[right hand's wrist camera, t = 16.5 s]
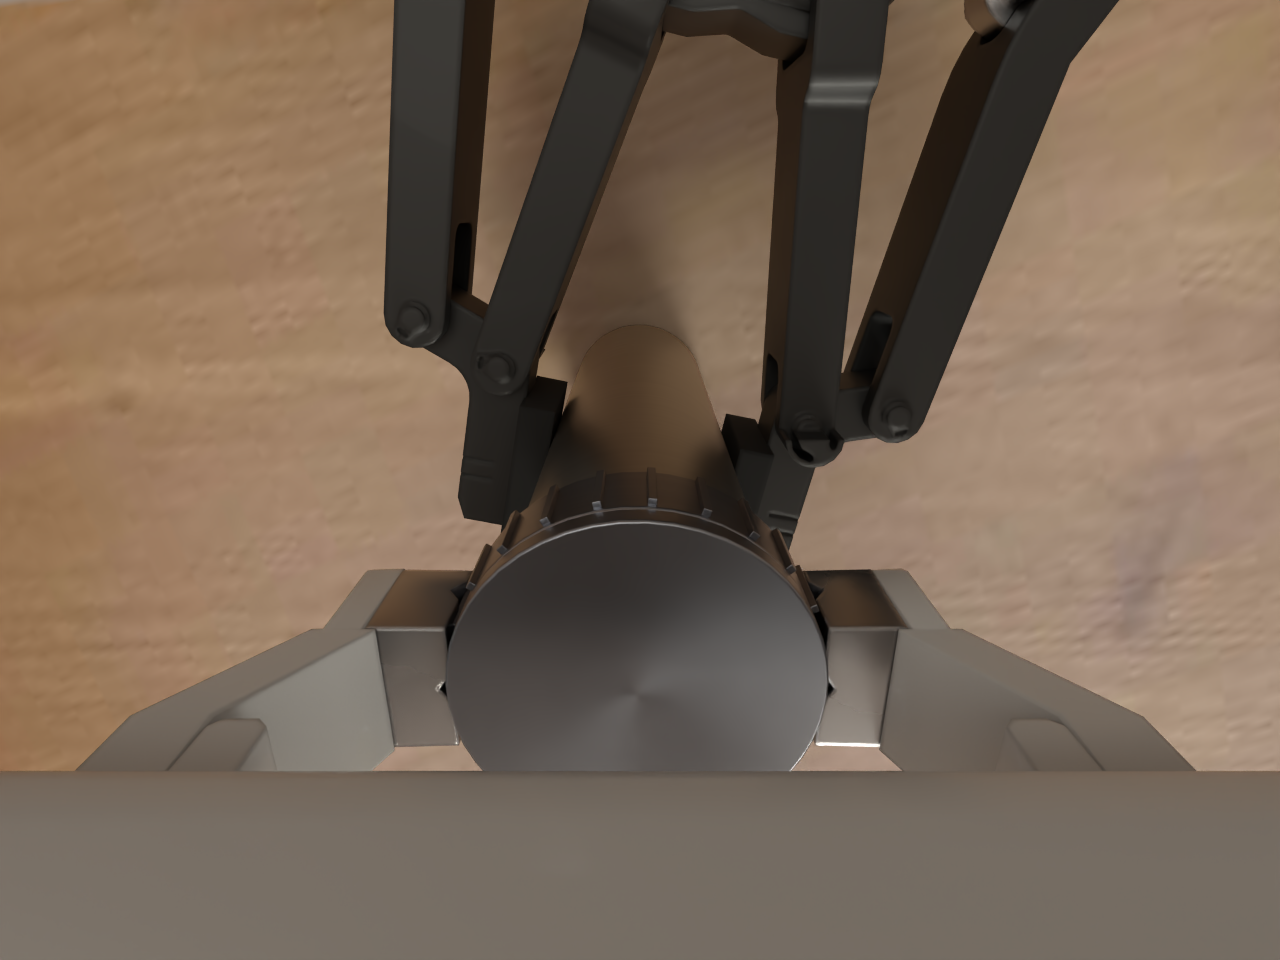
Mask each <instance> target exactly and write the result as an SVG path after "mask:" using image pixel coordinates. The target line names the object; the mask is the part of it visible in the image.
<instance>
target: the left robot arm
mask: <svg viewBox="0 0 1280 960" xmlns="http://www.w3.org/2000/svg"><path fill="white" fill-rule="evenodd" d="M893 1H894V0H589V3H588V6H587V10H586V14H585V19H584V24H583V30H582V34H581V38H580V41H579V44H578V47H577V50H576V53H575V56H574V59H573V62H572V65H571V67H570V70H569V73H568V76H567V79H566V82H565V85H564V88H563V91H562V94H561V96H560V99H559V102H558V105H557V108H556V111H555V114H554V117H553V120H552V123H551V126H550V128H549V131H548V134H547V137H546V140H545V143H544V146H543V149H542V152H541V155H540V157H539V160H538V163H537V166H536V169H535V172H534V175H533V178H532V181H531V184H530V186H529V189H528V192H527V195H526V198H525V201H524V204H523V207H522V210H521V213H520V215H519V218H518V221H517V224H516V227H515V230H514V233H513V236H512V239H511V242H510V244H509V247H508V250H507V253H506V256H505V259H504V262H503V265H502V268H501V271H500V273H499V276H498V279H497V282H496V285H495V288H494V291H493V294H492V297H491V300H490V302H489V305H488V304H486V303H485V302H483V301H481V300H480V299H478V298H476V297H475V296H473V295H472V285H473V272H474V260H475V247H476V235H477V222H478V209H479V197H480V184H481V171H482V159H483V146H484V133H485V121H486V108H487V95H488V83H489V70H490V58H491V45H492V32H493V20H494V7H495V0H394V28H393V57H392V86H391V116H390V145H389V174H388V203H387V233H386V262H385V291H384V318H385V324H386V327H387V328H388V330H389V332H390V333H391V335H392V336H393V337H394V338H395V339H396V340H397V341H399V342H400V343H401V344H403V345H406V346H409V347H412V348H422V347H423V348H425V349H427V350H428V351H430V352H432V353H434V354H435V355H437V356H439V357H440V358H442V359H444V360H446V361H447V362H449V363H450V364H452V365H453V366H455V367H456V368H457V369H458V370H459V371H460V373H461V374H462V375H463V377H464V378H465V380H466V382H467V385H468V389H469V409H468V417H467V425H466V434H465V442H464V450H463V459H462V467H461V476H460V484H459V492H458V499H459V502H460V506H461V509H462V512H463V516H464V518H467V519H472V520H477V521H483V522H488V523H494V524H499V525H502V528H501V533H502V531H503V530H504V529H505V527H506V525H507V522H508V520H509V518H510V515H511V514H512V513H513V512H514V511H515V510H517V511H518V512H519V513H521V512H522V511H524V510H525V509H526V508H528V506H529V504H530V501H531V498H532V495H533V493H534V490H535V487H536V485H537V482H538V479H539V476H540V474H541V471H542V468H543V466H544V463H545V460H546V458H547V455H548V452H549V449H550V447H551V444H552V441H553V439H554V436H555V433H556V430H557V428H558V425H559V422H560V420H561V417H562V412H563V406H564V400H565V394H566V388H567V383H568V382H565V381H560V380H555V379H550V378H545V377H540V376H537V377H536V375H537V368H538V362H539V358H540V357H541V355H542V354H543V352H544V351H545V349H544V347H545V345H546V342H547V339H548V337H549V334H550V332H551V329H552V326H553V324H554V321H555V318H556V316H557V313H558V311H559V308H560V305H561V303H562V300H563V297H564V295H565V292H566V290H567V287H568V284H569V282H570V279H571V277H572V274H573V271H574V269H575V266H576V263H577V261H578V258H579V256H580V253H581V250H582V248H583V245H584V242H585V240H586V237H587V235H588V232H589V229H590V227H591V224H592V222H593V219H594V216H595V214H596V211H597V208H598V206H599V203H600V201H601V198H602V195H603V193H604V190H605V188H606V185H607V182H608V180H609V177H610V174H611V172H612V169H613V167H614V164H615V161H616V159H617V156H618V153H619V151H620V148H621V146H622V143H623V140H624V138H625V135H626V133H627V130H628V127H629V125H630V122H631V119H632V117H633V114H634V112H635V109H636V106H637V104H638V101H639V99H640V96H641V93H642V91H643V88H644V86H645V84H646V82H647V80H648V77H649V75H650V73H651V70H652V68H653V65H654V63H655V60H656V57H657V55H658V52H659V49H660V47H661V44H662V42H663V39H664V36H665V34H666V32H669V33H673V34H677V35H682V36H686V37H691V36H706V35H721V34H726V35H730V36H731V37H733V38H735V39H736V40H738V41H740V42H741V43H743V44H745V45H746V46H748V47H750V48H751V49H753V50H755V51H756V52H758V53H760V54H762V55H765V56H769V57H773V58H777V59H778V71H777V87H776V110H777V115H778V136H777V152H776V168H775V184H774V199H773V215H772V231H771V247H770V262H769V278H768V294H767V310H766V325H765V341H764V357H763V373H762V388H761V405H762V412H761V416H760V419H759V423H758V424H757V422H756V420H755V419H750V418H745V417H740V416H735V415H730V414H726V416H725V420H724V424H723V428H722V431H721V433H722V436H723V439H724V442H725V445H726V447H727V450H728V453H729V456H730V459H731V462H732V464H733V467H734V470H735V473H736V476H737V479H738V481H739V484H740V487H741V490H742V493H743V496H744V498H745V500H747V501H748V503H749V506H750V509H751V511H752V512H753V513H754V514H756V515H757V516H758V517H759V518H760V519H761V520H762V521H763V522H764V523H765V524H766V525H767V526H768V527H769V528H770V530H771V531H773V530H774V529H776V528H777V529H778V530H779V531H780V533H781V534H782V537H783V539H784V541H785V544H786V546H787V548H788V551H789V548H790V545H791V542H792V539H793V534H794V532H795V529H796V526H797V523H798V518H799V517H800V513H801V510H802V507H803V504H804V501H805V498H806V495H807V491H808V488H809V485H810V482H811V479H812V476H813V473H814V470H815V467H820V466H824V465H826V464H828V463H829V462H831V461H833V460H834V459H835V458H836V457H837V455H838V454H839V453H840V452H841V450H842V447H843V444H844V442H848V441H855V440H862V439H870V438H878V439H880V440H882V441H884V442H887V443H899V442H902V441H905V440H908V439H909V438H911V437H912V436H913V435H914V434H916V433H917V432H918V430H919V429H920V427H921V426H922V424H923V422H924V420H925V417H926V415H927V413H928V410H929V408H930V405H931V403H932V400H933V398H934V395H935V393H936V390H937V388H938V386H939V383H940V381H941V378H942V376H943V373H944V371H945V368H946V366H947V364H948V361H949V359H950V356H951V354H952V351H953V349H954V346H955V344H956V342H957V339H958V337H959V334H960V332H961V329H962V327H963V324H964V322H965V319H966V317H967V315H968V312H969V310H970V307H971V305H972V302H973V300H974V297H975V295H976V293H977V290H978V288H979V285H980V283H981V280H982V278H983V275H984V273H985V271H986V268H987V266H988V263H989V261H990V258H991V256H992V253H993V251H994V249H995V246H996V244H997V241H998V239H999V236H1000V234H1001V231H1002V229H1003V226H1004V224H1005V222H1006V219H1007V217H1008V214H1009V212H1010V209H1011V207H1012V204H1013V202H1014V200H1015V197H1016V195H1017V192H1018V190H1019V187H1020V185H1021V182H1022V180H1023V178H1024V175H1025V173H1026V170H1027V168H1028V165H1029V163H1030V160H1031V158H1032V156H1033V153H1034V151H1035V148H1036V146H1037V143H1038V141H1039V138H1040V136H1041V133H1042V131H1043V129H1044V126H1045V124H1046V121H1047V119H1048V116H1049V114H1050V111H1051V109H1052V107H1053V104H1054V102H1055V99H1056V97H1057V94H1058V92H1059V89H1060V87H1061V85H1062V82H1063V80H1064V77H1065V75H1066V72H1067V70H1068V67H1069V65H1070V63H1071V61H1072V60H1073V59H1074V58H1075V56H1076V55H1077V54H1078V52H1079V51H1080V50H1081V49H1082V47H1083V46H1084V45H1085V43H1086V42H1087V41H1088V40H1089V38H1090V37H1091V36H1092V34H1093V33H1094V32H1095V31H1096V29H1097V28H1098V27H1099V25H1100V24H1101V23H1102V22H1103V20H1104V19H1105V18H1106V16H1107V15H1108V14H1109V12H1110V11H1111V10H1112V9H1113V7H1114V6H1115V5H1116V3H1117V2H1118V1H1119V0H965V1H964V14H965V19H966V20H967V22H968V23H969V25H970V26H971V27H972V28H973V30H974V31H975V32H974V33H973V35H972V36H971V38H970V39H969V41H968V42H967V44H966V45H965V47H964V49H963V51H962V53H961V55H960V56H959V58H958V60H957V62H956V64H955V66H954V68H953V70H952V72H951V74H950V77H949V79H948V82H947V84H946V86H945V89H944V91H943V94H942V96H941V99H940V102H939V105H938V108H937V110H936V113H935V116H934V119H933V122H932V125H931V127H930V130H929V133H928V136H927V139H926V141H925V144H924V147H923V150H922V153H921V156H920V158H919V161H918V164H917V167H916V170H915V172H914V175H913V178H912V181H911V184H910V187H909V189H908V192H907V195H906V198H905V201H904V203H903V206H902V209H901V212H900V215H899V218H898V220H897V223H896V226H895V229H894V232H893V234H892V237H891V240H890V243H889V246H888V249H887V251H886V254H885V257H884V260H883V263H882V265H881V268H880V271H879V274H878V277H877V280H876V282H875V285H874V288H873V291H872V294H871V296H870V299H869V302H868V305H867V308H866V311H865V313H864V316H863V319H862V322H861V325H860V328H859V330H858V333H857V336H856V339H855V342H854V344H853V347H852V350H851V353H850V356H849V359H848V361H847V364H846V367H845V370H844V373H841V369H842V359H843V350H844V340H845V331H846V322H847V312H848V303H849V293H850V284H851V274H852V265H853V255H854V246H855V236H856V227H857V217H858V208H859V198H860V189H861V179H862V170H863V161H864V151H865V142H866V132H867V123H868V114H869V107H870V103H871V100H872V97H873V95H874V93H875V90H876V88H877V85H878V82H879V78H880V74H881V68H882V62H883V52H884V43H885V34H886V25H887V16H888V7H889V5H890V4H891V3H892V2H893Z"/></svg>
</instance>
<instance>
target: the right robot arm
mask: <svg viewBox="0 0 1280 960" xmlns="http://www.w3.org/2000/svg"><path fill="white" fill-rule="evenodd" d="M472 572H473V571H456V570H405V569H379V570H368V571H367V572H366V573H365V574H364V575H363V577H362V578H361V579H360V581H359V582H358V583H357V584H356V586H355V587H354V588H353V590H352V591H351V592H350V594H349V595H348V596H347V598H346V599H345V600H344V602H343V603H342V604H341V606H340V607H339V608H338V610H337V611H336V612H335V614H334V615H333V616H332V618H331V619H330V620H329V622H328V623H327V624H326V625H325V627H324V628H323V629H311V630H309V631H307V632H304V633H302V634H300V635H298V636H296V637H294V638H292V639H290V640H288V641H286V642H284V643H281V644H279V645H277V646H275V647H273V648H271V649H269V650H267V651H265V652H263V653H261V654H258V655H256V656H254V657H252V658H250V659H248V660H246V661H244V662H242V663H240V664H238V665H235V666H233V667H231V668H229V669H227V670H225V671H223V672H221V673H219V674H217V675H215V676H212V677H210V678H208V679H206V680H204V681H202V682H200V683H198V684H196V685H194V686H192V687H189V688H187V689H185V690H183V691H181V692H179V693H177V694H175V695H173V696H171V697H168V698H166V699H164V700H162V701H160V702H158V703H156V704H154V705H152V706H150V707H148V708H145V709H143V710H141V711H139V712H137V713H135V714H133V715H131V716H129V717H128V718H127V719H126V720H125V721H124V722H123V723H122V724H121V725H120V726H119V727H118V728H117V729H116V730H115V731H114V732H113V733H112V734H111V735H110V736H109V737H108V738H107V739H106V740H105V741H104V742H103V743H102V744H101V745H100V746H99V747H98V748H97V749H96V750H95V751H94V752H93V753H92V754H91V755H90V756H89V757H88V758H87V759H86V760H85V761H84V762H83V763H82V764H81V765H80V766H79V767H78V768H77V769H76V770H75V771H0V960H1280V771H1196V770H1195V769H1194V768H1193V767H1192V766H1191V765H1190V764H1189V763H1188V762H1187V761H1186V760H1185V759H1184V758H1183V757H1182V756H1181V755H1180V754H1179V753H1178V752H1177V751H1176V750H1175V749H1174V748H1173V747H1172V746H1171V744H1170V743H1169V742H1168V741H1167V740H1166V739H1165V738H1164V737H1163V736H1162V735H1161V734H1160V733H1159V732H1158V731H1157V730H1156V729H1155V728H1154V727H1153V726H1152V725H1151V724H1150V723H1149V722H1148V721H1147V720H1146V719H1145V718H1144V717H1143V716H1141V715H1139V714H1136V713H1134V712H1132V711H1130V710H1128V709H1126V708H1124V707H1122V706H1120V705H1118V704H1116V703H1114V702H1112V701H1110V700H1108V699H1105V698H1103V697H1101V696H1099V695H1097V694H1095V693H1093V692H1091V691H1089V690H1087V689H1085V688H1083V687H1081V686H1079V685H1077V684H1074V683H1072V682H1070V681H1068V680H1066V679H1064V678H1062V677H1060V676H1058V675H1056V674H1054V673H1052V672H1050V671H1048V670H1046V669H1043V668H1041V667H1039V666H1037V665H1035V664H1033V663H1031V662H1029V661H1027V660H1025V659H1023V658H1021V657H1019V656H1017V655H1015V654H1012V653H1010V652H1008V651H1006V650H1004V649H1002V648H1000V647H998V646H996V645H994V644H992V643H990V642H988V641H986V640H984V639H981V638H979V637H977V636H975V635H973V634H971V633H969V632H967V631H965V630H963V629H950V627H949V626H948V625H947V623H946V622H945V621H944V619H943V618H942V617H941V615H940V614H939V613H938V611H937V610H936V609H935V607H934V606H933V605H932V603H931V602H930V601H929V599H928V598H927V597H926V595H925V594H924V592H923V591H922V590H921V588H920V587H919V586H918V584H917V583H916V582H915V580H914V579H913V578H912V576H911V575H910V574H909V572H908V571H906V570H903V569H883V570H871V569H868V570H826V571H802V572H803V574H804V576H805V579H806V581H807V583H808V585H809V588H810V590H811V592H812V594H813V597H814V599H815V601H816V604H817V606H818V609H819V612H816V613H814V616H815V619H816V621H817V624H818V626H819V629H820V631H821V634H822V636H823V640H824V644H825V649H826V653H827V658H828V673H829V683H828V693H827V701H826V705H825V709H824V712H823V716H822V720H821V723H820V725H819V727H818V730H817V732H816V734H815V737H814V739H813V740H814V743H815V745H823V746H860V747H880V748H879V750H880V751H881V752H882V753H883V754H884V755H886V756H887V757H888V758H889V759H890V760H891V761H892V762H893V763H895V764H896V765H897V766H898V767H899V768H900V769H901V770H902V771H372V770H373V769H374V768H375V767H376V766H377V765H379V764H380V763H381V762H382V761H383V760H384V759H385V758H387V757H388V756H389V755H390V754H391V753H392V752H393V751H394V750H395V749H394V747H414V746H449V745H459V743H460V740H461V738H460V736H459V734H458V732H457V730H456V728H455V725H454V722H453V719H452V716H451V712H450V709H449V706H448V699H447V692H446V685H445V678H446V659H447V654H448V648H449V643H450V640H451V637H452V634H453V631H454V630H453V622H454V620H455V618H456V616H457V614H458V612H459V605H460V602H461V600H462V598H463V596H464V594H465V592H467V591H468V589H466V586H467V583H468V581H469V579H470V577H471V574H472Z"/></svg>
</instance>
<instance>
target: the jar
mask: <svg viewBox="0 0 1280 960" xmlns="http://www.w3.org/2000/svg"><path fill="white" fill-rule="evenodd" d="M648 467H653V468H656V473H663V474H670V475H675V476H679V477H683V478H688V479H692V480H695V481H696V478H697V477H701V478H704V479H705V482H706V485H708V486H711V487H714V488H715V489H717V490H719V491H721V492H723V493H725V494H727V495H729V496H731V497H733V498H734V499H736V500H737V501H739V500H740V499H741V498H744V496H743V493H742V490H741V487H740V484H739V481H738V479H737V476H736V473H735V470H734V467H733V464H732V462H731V459H730V456H729V453H728V450H727V447H726V445H725V442H724V439H723V436H722V433H721V431H720V428H719V425H718V422H717V419H716V416H715V414H714V411H713V408H712V405H711V402H710V399H709V397H708V394H707V391H706V388H705V385H704V382H703V380H702V377H701V374H700V371H699V368H698V366H697V363H696V361H695V359H694V357H693V355H692V353H691V352H690V350H689V349H688V348H687V347H686V346H685V344H684V343H683V342H682V341H680V340H679V339H678V338H677V337H675V336H674V335H672V334H671V333H669V332H667V331H665V330H662V329H660V328H656V327H653V326H647V325H631V326H625V327H621V328H618V329H616V330H613V331H611V332H609V333H607V334H606V335H604V336H603V337H601V338H600V339H599V340H598V341H597V342H596V343H594V344H593V345H592V347H591V348H590V349H589V350H588V352H587V353H586V355H585V357H584V358H583V361H582V363H581V365H580V368H579V371H578V373H577V376H576V379H575V382H574V384H573V387H572V390H571V392H570V395H569V398H568V401H567V403H566V406H565V409H564V411H563V414H562V417H561V420H560V422H559V425H558V428H557V430H556V433H555V436H554V439H553V441H552V444H551V447H550V449H549V452H548V455H547V458H546V460H545V463H544V466H543V468H542V471H541V474H540V476H539V479H538V482H537V485H536V487H535V490H534V493H533V495H532V498H531V501H530V504H529V506H530V505H532V504H533V503H534V502H536V501H537V500H539V499H541V498H542V497H544V496H546V495H547V494H548V491H549V488H550V487H551V486H554V485H556V484H557V486H558V487H559V488H562V487H564V486H567V485H569V484H571V483H574V482H576V481H580V480H584V479H587V478H591V477H595V476H596V472H597V471H599V470H605V473H606V474H612V473H620V472H647V468H648ZM744 499H745V498H744ZM529 506H528V507H529Z"/></svg>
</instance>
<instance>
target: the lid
mask: <svg viewBox="0 0 1280 960" xmlns="http://www.w3.org/2000/svg"><path fill="white" fill-rule="evenodd" d="M466 589H468V591H467V592H465V594H464V596H463V598H462V600H461V602H460V605H459V612H458V614H457V616H456V618H455V620H454V622H453V630H454V631H453V634H452V637H451V640H450V643H449V648H448V654H447V659H446V678H445V685H446V692H447V699H448V706H449V709H450V712H451V716H452V719H453V722H454V725H455V728H456V730H457V732H458V734H459V736H460V738H461V740H462V742H463V744H464V746H465V747H466V749H467V750H468V752H469V753H470V755H471V756H472V758H473V759H474V761H475V762H476V763H477V765H478V766H479V767H480V768H481V769H482V770H483V771H792V769H793V768H794V767H795V766H796V765H797V763H798V762H799V761H800V760H801V758H802V757H803V756H804V754H805V752H806V751H807V749H808V747H809V746H810V744H811V743H812V741H813V739H814V737H815V734H816V732H817V730H818V727H819V725H820V723H821V720H822V716H823V712H824V709H825V705H826V701H827V693H828V683H829V673H828V658H827V653H826V649H825V644H824V640H823V636H822V634H821V631H820V629H819V626H818V624H817V621H816V619H815V616H814V613H816V612H819V609H818V606H817V604H816V601H815V599H814V597H813V594H812V592H811V590H810V588H809V585H808V583H807V581H806V579H805V576H804V574H803V572H802V570H801V567H800V565H797V566H795V565H794V562H793V560H792V558H791V555H790V553H789V551H788V548H787V546H786V544H785V541H784V539H783V537H782V534H781V533H780V531H779V530H778V529H777V528H776V529H774V530H773V531H771V530H770V528H769V527H768V526H767V525H766V524H765V523H764V522H763V521H762V520H761V519H760V518H759V517H758V516H757V515H756V514H754V513H753V512H752V511H751V509H750V506H749V503H748V501H747V500H745V499H744V498H741V499H740V500H739V501H737V500H736V499H734V498H733V497H731V496H729V495H727V494H725V493H723V492H721V491H719V490H717V489H715V488H714V487H711V486H708V485H706V482H705V479H704V478H701V477H697V478H696V481H695V480H692V479H688V478H683V477H679V476H675V475H670V474H663V473H656V468H653V467H648V468H647V472H620V473H612V474H606V473H605V470H599V471H597V472H596V476H595V477H591V478H587V479H584V480H580V481H576V482H574V483H571V484H569V485H567V486H564V487H562V488H559V487H558V486H557V484H556V485H554V486H551V487H550V488H549V491H548V494H547V495H546V496H544V497H542V498H541V499H539V500H537V501H536V502H534V503H533V504H532V505H530V506H529V507H528V508H526V509H525V510H524V511H522V512H521V513H519V512H518V511H517V510H515V511H514V512H513V513H512V514H511V515H510V518H509V520H508V522H507V525H506V527H505V529H504V530H503V531H502V533H501V534H500V535H499V537H498V538H497V539H496V541H495V542H494V543H493V545H492V546H490V545H488V544H486V545H485V547H484V548H483V550H482V552H481V555H480V557H479V559H478V561H477V563H476V566H475V568H474V570H473V572H472V574H471V577H470V579H469V581H468V583H467V586H466Z"/></svg>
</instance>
